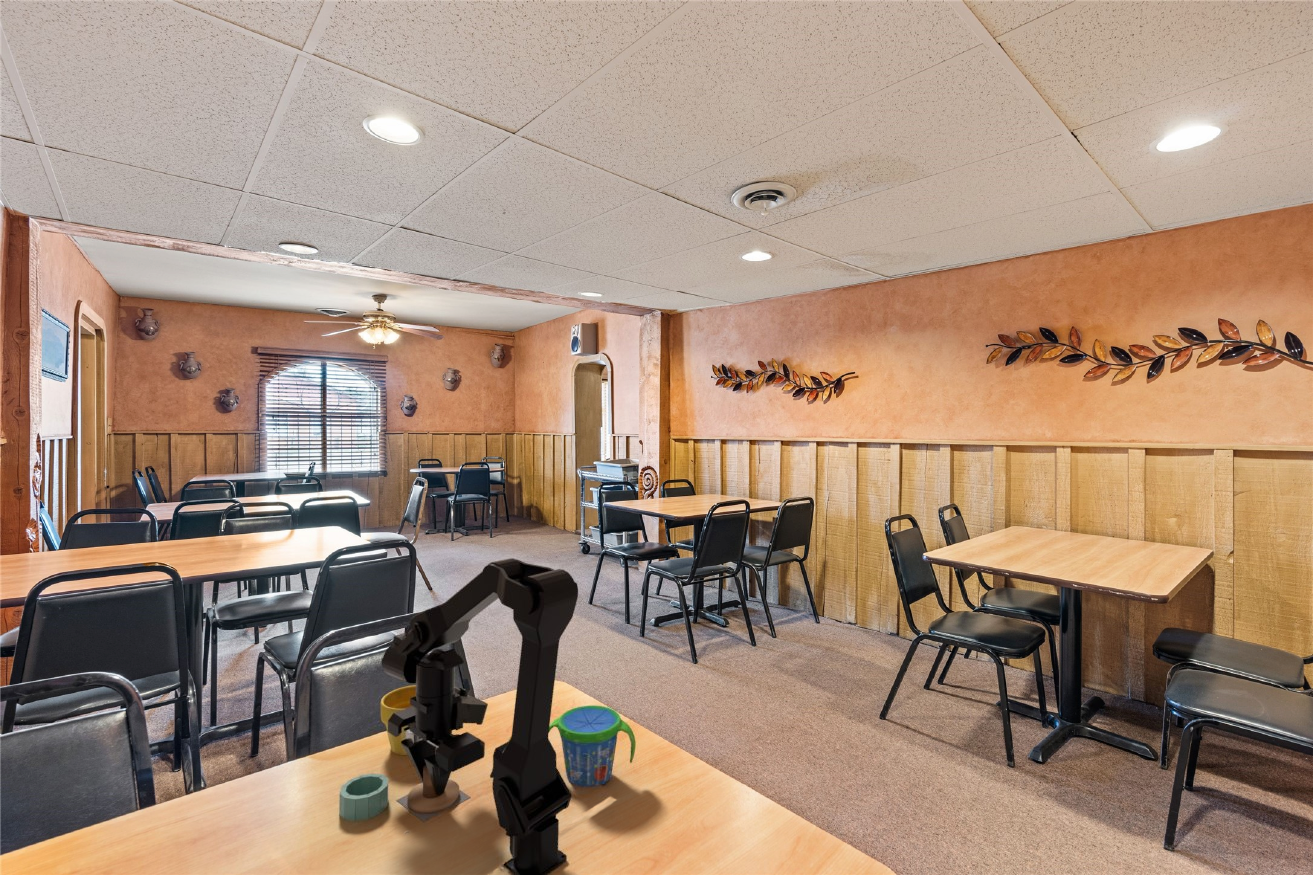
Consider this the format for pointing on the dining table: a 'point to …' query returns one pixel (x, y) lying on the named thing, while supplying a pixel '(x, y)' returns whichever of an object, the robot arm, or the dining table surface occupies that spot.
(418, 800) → the lid
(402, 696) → the plant pot
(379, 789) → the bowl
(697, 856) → the dining table surface
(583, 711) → the snack cup
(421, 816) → the mat
